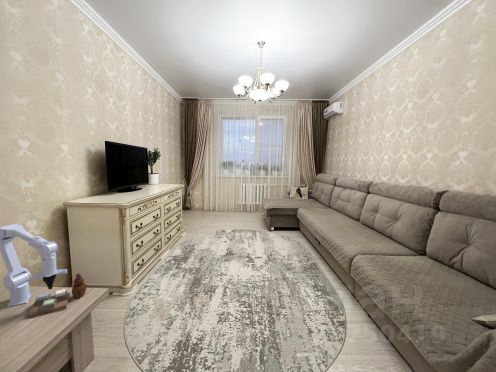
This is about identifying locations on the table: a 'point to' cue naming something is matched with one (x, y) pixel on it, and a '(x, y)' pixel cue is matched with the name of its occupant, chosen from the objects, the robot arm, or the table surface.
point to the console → (58, 305)
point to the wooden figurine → (78, 287)
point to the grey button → (43, 296)
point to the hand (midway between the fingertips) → (50, 288)
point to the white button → (60, 292)
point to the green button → (49, 302)
